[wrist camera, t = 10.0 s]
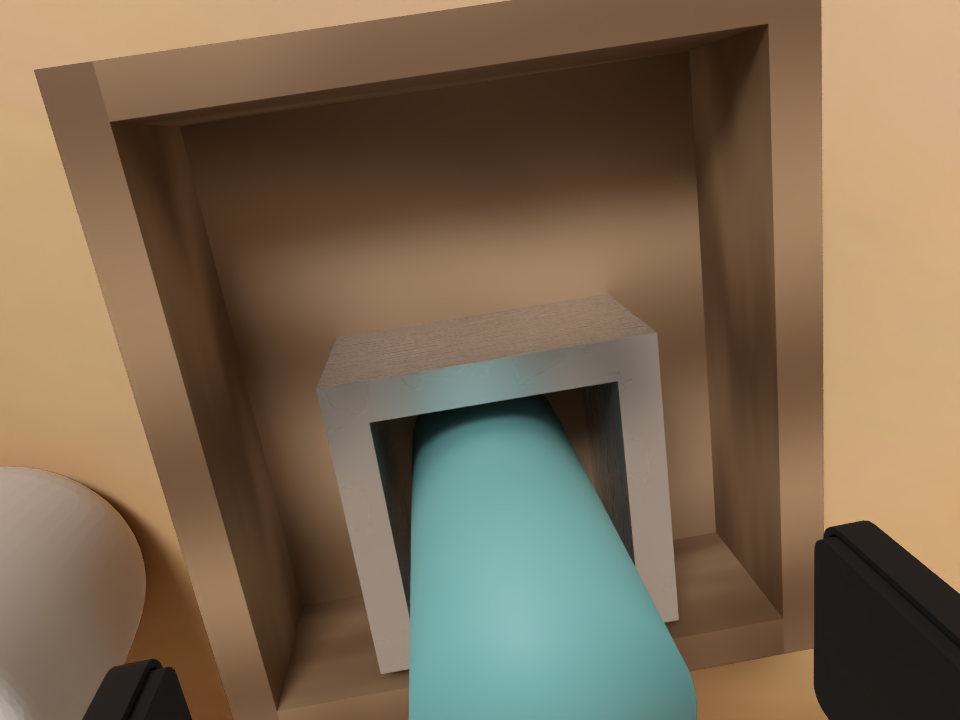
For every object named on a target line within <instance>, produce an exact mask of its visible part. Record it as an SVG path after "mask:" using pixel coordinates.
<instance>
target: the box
mask: <svg viewBox="0 0 960 720" xmlns="http://www.w3.org/2000/svg"><path fill="white" fill-rule="evenodd" d="M34 72H35V75H36V79H37V82H38V85H39V88H40V92H41V95H42V98H43V101H44V105H45V108H46V111H47V114H48V118H49V121H50V124H51V127H52V131H53V134H54V137H55V140H56V144H57V147H58V150H59V153H60V157H61V160H62V163H63V167H64V170H65V173H66V176H67V180H68V183H69V186H70V189H71V193H72V196H73V199H74V202H75V206H76V209H77V212H78V215H79V219H80V222H81V225H82V228H83V232H84V235H85V238H86V241H87V245H88V248H89V251H90V254H91V258H92V261H93V264H94V267H95V271H96V274H97V277H98V280H99V284H100V287H101V290H102V294H103V297H104V300H105V303H106V307H107V310H108V313H109V316H110V320H111V323H112V326H113V329H114V333H115V336H116V339H117V342H118V346H119V349H120V352H121V355H122V359H123V362H124V365H125V368H126V372H127V375H128V378H129V381H130V385H131V388H132V391H133V394H134V398H135V401H136V404H137V407H138V411H139V414H140V417H141V420H142V424H143V427H144V430H145V434H146V437H147V440H148V443H149V447H150V450H151V453H152V456H153V460H154V463H155V466H156V469H157V473H158V476H159V479H160V482H161V486H162V489H163V492H164V495H165V499H166V502H167V505H168V508H169V512H170V515H171V518H172V521H173V525H174V528H175V531H176V534H177V538H178V541H179V544H180V547H181V551H182V554H183V557H184V561H185V564H186V567H187V570H188V574H189V577H190V580H191V583H192V587H193V590H194V593H195V596H196V600H197V603H198V606H199V609H200V613H201V616H202V619H203V622H204V626H205V629H206V632H207V635H208V639H209V642H210V645H211V648H212V652H213V655H214V658H215V661H216V665H217V668H218V671H219V674H220V678H221V681H222V684H223V687H224V691H225V694H226V697H227V701H228V704H229V707H230V710H231V714H232V717H233V720H409V669H407V670H401V671H396V672H390V673H385V674H381V673H380V668H379V664H378V660H377V655H376V651H375V646H374V642H373V638H372V633H371V629H370V624H369V620H368V615H367V611H366V607H365V602H364V598H363V593H362V589H361V585H360V580H359V576H358V571H357V567H356V563H355V558H354V554H353V549H352V545H351V540H350V536H349V532H348V527H347V523H346V518H345V514H344V510H343V505H342V501H341V496H340V492H339V487H338V483H337V479H336V474H335V470H334V465H333V461H332V457H331V452H330V448H329V443H328V439H327V434H326V430H325V426H324V421H323V417H322V412H321V408H320V404H319V399H318V395H317V390H316V388H317V386H318V383H319V381H320V378H321V376H322V373H323V371H324V368H325V366H326V363H327V361H328V359H329V356H330V354H331V351H332V349H333V346H334V344H335V341H336V339H337V338H340V337H346V336H352V335H358V334H364V333H370V332H377V331H383V330H389V329H395V328H401V327H407V326H413V325H419V324H426V323H432V322H438V321H444V320H450V319H456V318H462V317H469V316H475V315H481V314H487V313H493V312H499V311H505V310H511V309H518V308H524V307H530V306H536V305H542V304H548V303H554V302H560V301H567V300H573V299H579V298H585V297H591V296H597V295H603V294H608V295H609V296H611V297H612V298H613V299H615V300H616V301H617V302H618V303H620V304H621V305H622V306H624V307H625V308H626V309H627V310H629V311H630V312H631V313H633V314H634V315H635V316H636V317H638V318H639V319H640V320H642V321H643V322H644V323H646V324H647V325H648V326H649V327H651V328H652V329H653V330H655V331H656V332H657V338H658V351H659V364H660V378H661V391H662V404H663V417H664V430H665V444H666V457H667V470H668V483H669V497H670V510H671V523H672V536H673V549H674V563H675V576H676V589H677V602H678V616H679V620H675V621H670V622H664V623H665V625H666V627H667V629H668V631H669V633H670V635H671V637H672V639H673V641H674V643H675V644H676V646H677V648H678V650H679V652H680V654H681V656H682V658H683V660H684V662H685V664H686V666H687V668H688V670H689V671H694V670H699V669H705V668H710V667H715V666H721V665H726V664H732V663H737V662H742V661H748V660H753V659H759V658H764V657H769V656H775V655H780V654H785V653H791V652H796V651H802V650H807V649H812V648H814V548H815V543H816V541H818V540H820V539H823V535H824V460H823V255H822V51H821V0H511V1H504V2H497V3H490V4H483V5H476V6H469V7H463V8H456V9H449V10H442V11H435V12H428V13H421V14H415V15H408V16H401V17H394V18H387V19H380V20H373V21H366V22H360V23H353V24H346V25H339V26H332V27H325V28H318V29H312V30H305V31H298V32H291V33H284V34H277V35H270V36H264V37H257V38H250V39H243V40H236V41H229V42H222V43H215V44H209V45H202V46H195V47H188V48H181V49H174V50H167V51H161V52H154V53H147V54H140V55H133V56H126V57H119V58H113V59H106V60H99V61H92V62H85V63H78V64H71V65H64V66H58V67H51V68H44V69H37V70H34ZM543 395H544V396H545V397H546V398H547V400H548V401H549V402H550V404H551V406H552V408H553V410H554V411H555V413H556V415H557V417H558V419H559V421H560V423H561V425H562V427H563V429H564V431H565V433H566V435H567V437H568V438H569V440H570V442H571V444H572V446H573V448H574V450H575V452H576V454H577V456H578V458H579V460H580V462H581V463H582V465H583V467H584V469H585V471H586V473H587V475H588V477H589V479H590V481H591V483H592V485H593V477H592V468H591V459H590V449H589V440H588V431H587V422H586V413H585V404H584V395H583V387H579V388H573V389H567V390H561V391H555V392H549V393H543ZM418 415H419V414H418ZM418 415H413V416H407V417H401V418H395V419H389V421H390V426H391V431H392V436H393V441H394V446H395V451H396V456H397V461H398V466H399V471H400V476H401V482H402V487H403V492H404V497H405V502H406V507H407V512H408V517H409V522H410V527H411V498H412V436H413V430H414V425H415V422H416V419H417V417H418ZM593 487H594V486H593Z"/></svg>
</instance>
